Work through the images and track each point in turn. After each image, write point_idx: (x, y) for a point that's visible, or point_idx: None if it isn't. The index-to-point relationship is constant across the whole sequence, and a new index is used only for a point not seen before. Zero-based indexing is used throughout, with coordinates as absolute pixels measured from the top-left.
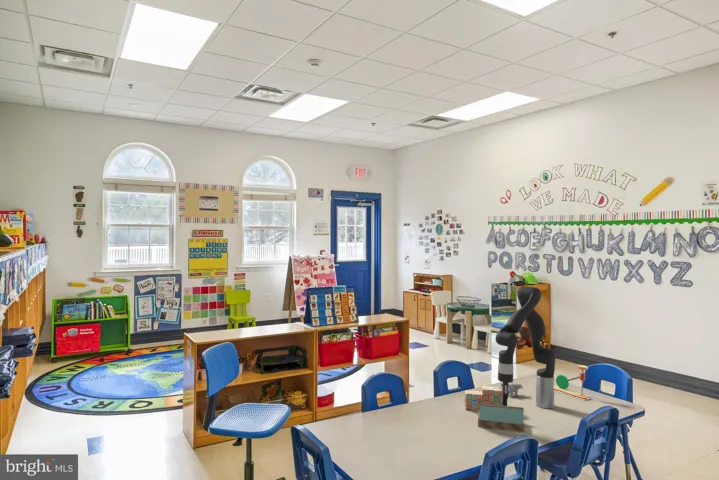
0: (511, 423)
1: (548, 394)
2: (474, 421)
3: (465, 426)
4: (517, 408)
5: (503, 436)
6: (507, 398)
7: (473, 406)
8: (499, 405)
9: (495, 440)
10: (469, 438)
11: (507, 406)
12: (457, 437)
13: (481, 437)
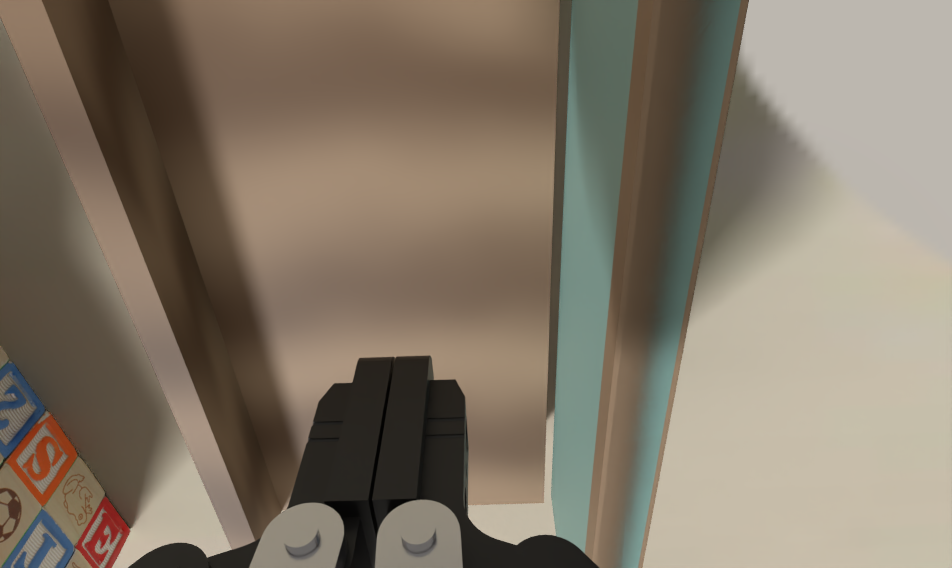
0: (552, 122)
1: None
2: None
3: None
4: (717, 140)
5: (776, 192)
6: (584, 563)
7: (73, 518)
8: (615, 517)
9: (902, 276)
10: (848, 475)
11: (647, 389)
12: (829, 541)
13: (821, 396)
